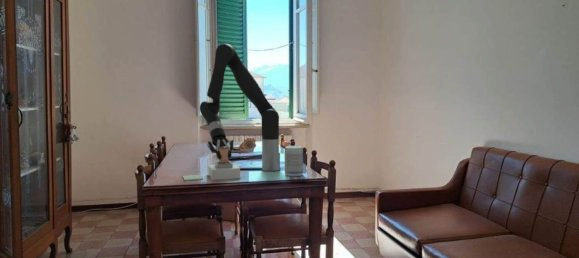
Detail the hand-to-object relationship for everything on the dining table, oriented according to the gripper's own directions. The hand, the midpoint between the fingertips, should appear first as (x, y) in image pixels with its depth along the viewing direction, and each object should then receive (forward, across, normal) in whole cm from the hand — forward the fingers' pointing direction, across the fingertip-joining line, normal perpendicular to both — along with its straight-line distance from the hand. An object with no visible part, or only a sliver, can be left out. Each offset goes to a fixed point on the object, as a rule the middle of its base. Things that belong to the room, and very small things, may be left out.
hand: (225, 157), depth 213 cm
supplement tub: (+15, +33, -1) cm, 36 cm away
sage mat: (+4, -15, +10) cm, 19 cm away
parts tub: (+6, 0, +8) cm, 10 cm away
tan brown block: (+2, 0, +5) cm, 5 cm away
